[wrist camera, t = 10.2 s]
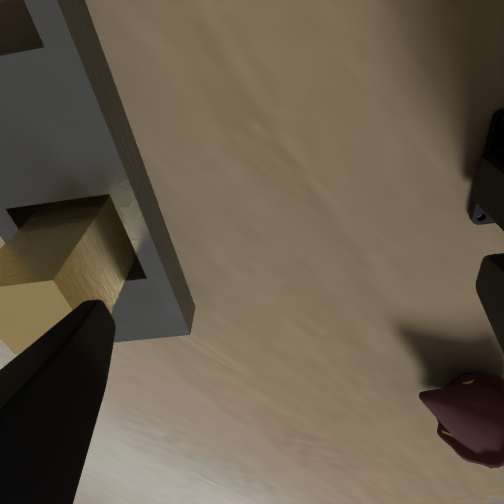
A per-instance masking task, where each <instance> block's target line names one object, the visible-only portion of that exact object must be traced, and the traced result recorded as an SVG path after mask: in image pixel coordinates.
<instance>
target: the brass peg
mask: <svg viewBox="0 0 504 504" xmlns="http://www.w3.org/2000/svg"><path fill="white" fill-rule="evenodd" d="M135 256H136V252H135V250H134V248H133V246H132V243H131V241H130V239H129V237H128V234H127V232H126V230H125V228H124V225H123V223H122V221H121V218H120V216H119V214H118V212H117V209H116V207H115V205H114V203H113V200H112V198H111V196H110V194H105V195H98V196H91V197H84V198H77V199H70V200H63V201H56V202H49V203H43V204H42V206H41V207H40V208H39V209H38V210H37V211H36V212H35V213H34V214H33V215H32V216H31V217H30V218H29V219H28V220H27V221H26V222H25V223H24V224H23V226H22V227H21V228H20V229H19V230H18V231H17V232H16V233H15V234H14V235H13V236H12V237H11V238H10V239H9V240H8V241H7V242H6V243H5V244H4V245H3V247H2V248H1V249H0V338H1V339H2V340H3V341H4V343H5V344H6V345H7V346H8V347H9V348H10V349H11V350H12V352H13V353H14V354H20V353H21V352H23V351H24V350H25V349H26V348H27V347H29V346H30V345H31V344H32V343H34V342H35V341H36V340H37V339H38V338H40V337H41V336H42V335H43V334H44V333H46V332H47V331H48V330H49V329H50V328H52V327H53V326H54V325H55V324H57V323H58V322H59V321H60V320H61V319H63V318H64V317H65V316H66V315H67V314H69V313H70V312H71V311H72V310H74V309H75V308H76V307H77V306H78V305H80V304H81V303H82V302H84V301H87V300H95V299H100V300H102V301H103V302H104V303H105V305H106V307H107V308H108V310H109V312H110V313H111V311H112V309H113V307H114V304H115V302H116V300H117V297H118V295H119V293H120V291H121V288H122V286H123V284H124V281H125V279H126V277H127V275H128V272H129V270H130V268H131V265H132V263H133V261H134V259H135Z"/></svg>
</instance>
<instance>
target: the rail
mask: <svg viewBox="0 0 504 504" xmlns="http://www.w3.org/2000/svg"><path fill="white" fill-rule="evenodd" d="M24 2H25V4H26V7H27V9H28V11H29V13H30V16H31V18H32V20H33V22H34V25H35V27H36V29H37V31H38V34H39V36H40V38H41V40H42V43H43V44H42V45H37V46H32V47H27V48H21V49H16V50H11V51H6V52H1V53H0V236H1V237H2V239H3V240H4V242H5V243H6V242H7V241H8V240H9V239H10V238H11V237H12V236H13V235H14V234H15V233H16V232H17V231H18V230H19V229H20V228H21V227H22V226H23V224H24V223H25V222H26V221H27V220H28V219H29V218H30V217H31V216H32V215H33V214H34V213H35V212H36V211H37V210H38V209H39V208H40V207H41V205H40V204H42V203H49V202H56V201H63V200H70V199H77V198H84V197H91V196H98V195H105V194H110V196H111V198H112V200H113V203H114V205H115V207H116V209H117V212H118V214H119V216H120V218H121V221H122V223H123V225H124V228H125V230H126V232H127V234H128V237H129V239H130V241H131V243H132V246H133V248H134V250H135V252H136V256H135V259H134V261H133V263H132V265H131V268H130V270H129V272H128V275H127V277H126V279H125V281H124V284H123V286H122V288H121V291H120V293H119V295H118V297H117V300H116V302H115V304H114V307H113V309H112V311H111V313H110V314H111V315H112V317H113V319H114V321H115V325H116V332H115V338H114V342H122V341H132V340H142V339H152V338H162V337H172V336H182V335H190V333H191V328H192V322H193V317H194V312H195V305H194V303H193V300H192V297H191V294H190V292H189V289H188V286H187V283H186V280H185V278H184V275H183V272H182V269H181V267H180V264H179V261H178V258H177V255H176V253H175V250H174V247H173V244H172V242H171V239H170V236H169V233H168V230H167V228H166V225H165V222H164V219H163V217H162V214H161V211H160V208H159V205H158V203H157V200H156V197H155V194H154V192H153V189H152V186H151V183H150V180H149V178H148V175H147V172H146V169H145V167H144V164H143V161H142V158H141V156H140V153H139V150H138V147H137V144H136V142H135V139H134V136H133V133H132V131H131V128H130V125H129V122H128V119H127V117H126V114H125V111H124V108H123V106H122V103H121V100H120V97H119V94H118V92H117V89H116V86H115V83H114V81H113V78H112V75H111V72H110V69H109V67H108V64H107V61H106V58H105V56H104V53H103V50H102V47H101V44H100V42H99V39H98V36H97V33H96V31H95V28H94V25H93V22H92V19H91V17H90V14H89V11H88V8H87V6H86V3H85V0H24Z"/></svg>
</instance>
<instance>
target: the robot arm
mask: <svg viewBox="0 0 504 504" xmlns="http://www.w3.org/2000/svg"><path fill="white" fill-rule="evenodd" d="M503 118H504V108H502V109H500V110H498V111H497V112H496V113H495V114H494V115H493V117H492V120H491V124H490V128H489V133H488V137H487V141H486V145H485V150H484V153H483V154H482V155H481V157H480V160H479V165H478V169H477V174H476V178H475V182H474V187H473V191H472V195H471V198H472V199H473V201H472V205H471V209H470V214H469V218H470V220H471V221H472V222H473V223H474V224H476V225H482V224H490V223H496V224H497V225H498V226H499V227H500V228H501V229H502V230H503V231H504V122H503V123H501V121H502V119H503ZM480 214H482V215H481V216H480V217H478V216H479V215H480ZM477 217H478V218H477ZM476 291H477V294H478V296H479V299H480V301H481V303H482V306H483V308H484V310H485V312H486V315H487V317H488V319H489V322H490V324H491V326H492V329H493V331H494V333H495V336H496V338H497V340H498V343H499V345H500V347H501V349H502V351H503V353H504V253H501V254H492V255H487V256H485V257H484V258H483V260H482V262H481V266H480V269H479V273H478V276H477V280H476ZM115 332H116V325H115V321H114V319H113V317H112V315H111V314H110V312H109V310H108V308H107V307H106V305H105V303H104V302H103V301H102V300H100V299H95V300H87V301H84V302H82V303H81V304H80V305H78V306H77V307H76V308H75V309H74V310H72V311H71V312H70V313H69V314H67V315H66V316H65V317H64V318H63V319H61V320H60V321H59V322H58V323H57V324H55V325H54V326H53V327H52V328H50V329H49V330H48V331H47V332H46V333H44V334H43V335H42V336H41V337H40V338H38V339H37V340H36V341H35V342H34V343H32V344H31V345H30V346H29V347H27V348H26V349H25V350H24V351H23V352H21V353H20V354H19V355H18V356H17V357H15V358H14V359H13V360H12V361H10V362H9V363H8V364H7V365H6V366H4V367H3V368H2V369H1V370H0V504H73V502H74V498H75V494H76V491H77V487H78V484H79V480H80V477H81V473H82V470H83V466H84V463H85V459H86V456H87V452H88V449H89V445H90V442H91V438H92V435H93V431H94V427H95V424H96V420H97V417H98V413H99V410H100V406H101V403H102V399H103V396H104V392H105V388H106V383H107V379H108V373H109V367H110V361H111V355H112V349H113V343H114V338H115Z"/></svg>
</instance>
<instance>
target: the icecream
mask: <svg viewBox="0 0 504 504" xmlns="http://www.w3.org/2000/svg"><path fill="white" fill-rule="evenodd" d="M419 398H420V399H421V401H422V402H423V403H424V404H425V405H426V406H427V408H428V409H429V410H430V411H431V412H432V413H433V414H434V415H435V417H436V418H437V421H438V423H439V424H438V428H437V434H438V435H439V436H440V437H441V438H442V439H443V440H444V441H445V442H446V443H447V444H448V445H450V446H451V447H452V448H453V449H454V451H455V452H456V453H457V454H458V455H459V456H460V457H462V458H463V459H464V460H466V461H468V462H472V463H477V464H481V465H485V466H487V467H489V468H499V467H501V466H504V379H502V378H501V377H499V376H498V375H493V374H472V373H465V374H464V375H463V376H461V377H460V378H459V379H457V380H456V381H454V382H452V383H451V384H449V385H447V386H446V387H445V388H442V389H435V390H428V391H423V392H420V394H419Z"/></svg>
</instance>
